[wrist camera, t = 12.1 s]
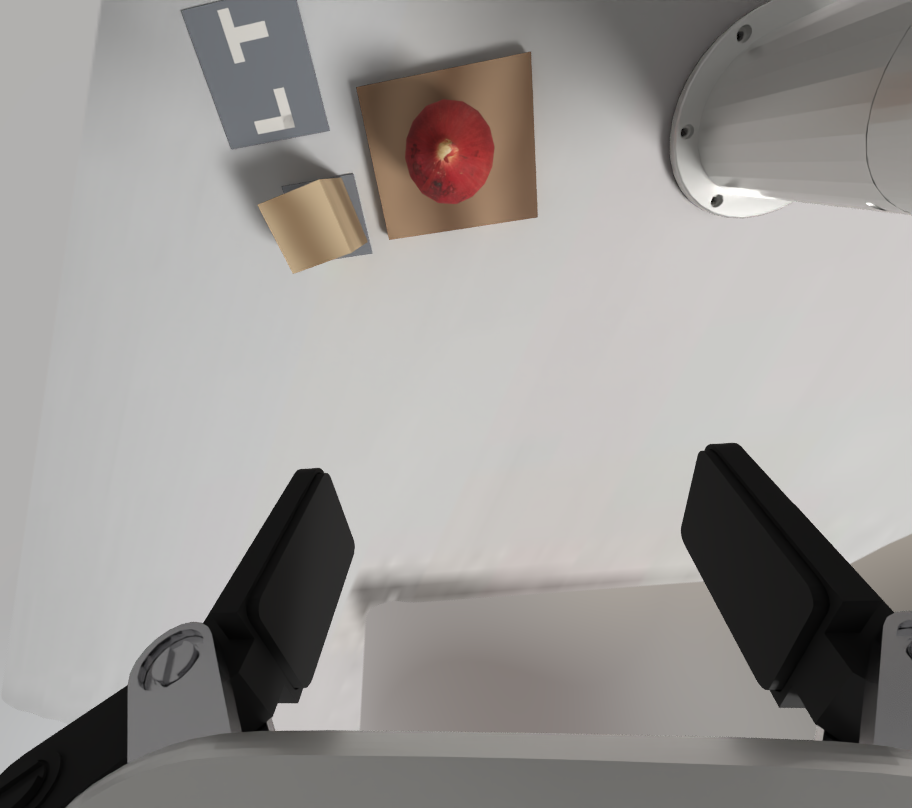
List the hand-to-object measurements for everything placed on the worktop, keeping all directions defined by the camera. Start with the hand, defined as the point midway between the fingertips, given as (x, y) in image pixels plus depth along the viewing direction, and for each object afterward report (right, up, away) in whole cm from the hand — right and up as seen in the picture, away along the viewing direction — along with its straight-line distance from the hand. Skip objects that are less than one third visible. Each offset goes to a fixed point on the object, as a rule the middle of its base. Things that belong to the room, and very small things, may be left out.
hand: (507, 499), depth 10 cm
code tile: (-15, +26, +18) cm, 35 cm away
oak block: (-12, +18, +23) cm, 31 cm away
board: (-1, +21, +20) cm, 29 cm away
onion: (-1, +21, +19) cm, 28 cm away
